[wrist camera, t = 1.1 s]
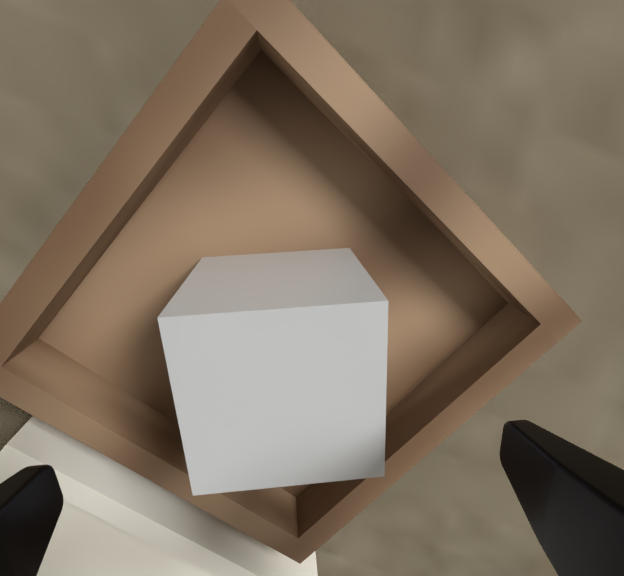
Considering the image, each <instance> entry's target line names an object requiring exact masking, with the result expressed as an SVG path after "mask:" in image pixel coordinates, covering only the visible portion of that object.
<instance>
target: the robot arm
mask: <svg viewBox="0 0 624 576" xmlns="http://www.w3.org/2000/svg"><path fill="white" fill-rule="evenodd" d="M500 460H501V463H502V466H503V468H504V470H505V473H506V475H507V477H508V479H509V481H510V483H511V485H512V487H513V489H514V491H515V493H516V496H517V498H518V500H519V502H520V504H521V506H522V508H523V510H524V512H525V514H526V517H527V519H528V521H529V523H530V525H531V527H532V529H533V531H534V533H535V535H536V537H537V539H538V541H539V543H540V545H541V546H542V548H543V550H544V552H545V553H546V555H547V557H548V559H549V560H550V562H551V564H552V565H553V567H554V569H555V570H556V572H557V574H558V575H559V576H624V470H623V469H621V468H619V467H617V466H615V465H613V464H611V463H609V462H607V461H605V460H603V459H601V458H599V457H597V456H595V455H594V454H592V453H590V452H588V451H586V450H584V449H582V448H580V447H578V446H576V445H574V444H572V443H570V442H568V441H566V440H565V439H563V438H561V437H559V436H557V435H555V434H553V433H551V432H549V431H547V430H545V429H543V428H541V427H539V426H537V425H536V424H534V423H532V422H530V421H527V420H516V421H508V422H506V423H505V425H504V428H503V434H502V441H501V447H500ZM63 501H64V500H63V494H62V491H61V488H60V485H59V482H58V479H57V476H56V474H55V471H54V469H53V467H52V466H50V465H47V464H45V465H34V466H28V467H25V468H23V469H21V470H20V471H18V472H17V473H15V474H14V475H12V476H11V477H9V478H8V479H6V480H5V481H3V482H2V483H0V576H37V574H38V571H39V568H40V566H41V563H42V561H43V558H44V555H45V553H46V550H47V548H48V545H49V542H50V540H51V537H52V535H53V532H54V529H55V527H56V524H57V522H58V519H59V516H60V514H61V511H62V508H63Z"/></svg>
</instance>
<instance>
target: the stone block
mask: <svg viewBox="0 0 624 576" xmlns="http://www.w3.org/2000/svg"><path fill="white" fill-rule="evenodd" d="M157 319H158V324H159V329H160V334H161V339H162V344H163V349H164V354H165V359H166V364H167V369H168V374H169V379H170V384H171V389H172V394H173V399H174V404H175V409H176V414H177V419H178V424H179V429H180V434H181V439H182V444H183V449H184V454H185V459H186V464H187V469H188V474H189V479H190V484H191V489H192V494H193V496H195V495H205V494H215V493H225V492H235V491H245V490H255V489H265V488H275V487H285V486H294V485H304V484H314V483H324V482H334V481H344V480H354V479H364V478H374V477H384V476H385V432H386V387H387V343H388V299H387V298H386V297H385V295H384V294H383V293H382V291H381V290H380V289H379V287H378V286H377V285H376V283H375V282H374V280H373V279H372V278H371V276H370V275H369V274H368V272H367V271H366V270H365V268H364V267H363V265H362V264H361V263H360V261H359V260H358V259H357V257H356V256H355V255H354V253H353V252H352V251H351V249H350V248H340V249H325V250H309V251H294V252H278V253H263V254H247V255H232V256H216V257H202V258H201V260H200V261H199V262H198V264H197V265H196V266H195V268H194V269H193V270H192V272H191V273H190V274H189V276H188V277H187V278H186V280H185V281H184V283H183V284H182V285H181V287H180V288H179V289H178V291H177V292H176V293H175V295H174V296H173V297H172V299H171V300H170V301H169V303H168V304H167V305H166V307H165V308H164V309H163V311H162V312H161V313H160V315H159V316H158V317H157Z"/></svg>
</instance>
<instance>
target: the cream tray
mask: <svg viewBox="0 0 624 576" xmlns="http://www.w3.org/2000/svg"><path fill="white" fill-rule="evenodd" d="M45 464H47V465H50V466H52V467H53V469H54V471H55V474H56V476H57V479H58V482H59V485H60V488H61V491H62V494H63V500H64V501H63V508H62V511H61V514H60V516H59V519H58V522H57V524H56V527H55V529H54V532H53V535H52V537H51V540H50V542H49V545H48V548H47V550H46V553H45V555H44V558H43V561H42V563H41V566H40V568H39V571H38V574H37V576H317V564H316V553H315V552H313V553H312V554H311V555H310V556H309V557H308V558H306V559H305V560H304V561H303V562H302V563H301V564H299V563H298V562H296V561H294V560H292V559H290V558H289V557H287V556H285V555H283V554H281V553H280V552H278V551H276V550H274V549H272V548H271V547H269V546H267V545H265V544H263V543H262V542H260V541H258V540H256V539H254V538H253V537H251V536H249V535H247V534H245V533H244V532H242V531H240V530H238V529H236V528H235V527H233V526H231V525H229V524H227V523H226V522H224V521H222V520H220V519H218V518H217V517H215V516H213V515H211V514H209V513H208V512H206V511H204V510H202V509H200V508H199V507H197V506H195V505H193V504H191V503H190V502H188V501H186V500H184V499H182V498H181V497H179V496H177V495H175V494H173V493H172V492H170V491H168V490H166V489H164V488H163V487H161V486H159V485H157V484H155V483H154V482H152V481H150V480H148V479H146V478H145V477H143V476H141V475H139V474H137V473H136V472H134V471H132V470H130V469H128V468H127V467H125V466H123V465H121V464H119V463H118V462H116V461H114V460H112V459H110V458H109V457H107V456H105V455H103V454H101V453H100V452H98V451H96V450H94V449H92V448H91V447H89V446H87V445H85V444H83V443H82V442H80V441H78V440H76V439H74V438H73V437H71V436H69V435H67V434H65V433H64V432H62V431H60V430H58V429H56V428H55V427H53V426H51V425H49V424H47V423H46V422H44V421H42V420H40V419H38V418H36V417H35V416H32V417H31V418H30V419H29V420H28V422H27V423H26V424H25V425H24V426H23V427H22V428H21V429H20V430H19V431H18V432H17V433H16V434H15V435H14V436H13V438H12V439H11V440H10V441H9V442H8V443H7V444H6V445H5V446H4V448H3V449H2V450H1V451H0V483H2V482H3V481H5V480H6V479H8V478H9V477H11V476H12V475H14V474H15V473H17V472H18V471H20V470H21V469H23V468H25V467H28V466H34V465H45Z"/></svg>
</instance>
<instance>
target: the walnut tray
mask: <svg viewBox="0 0 624 576" xmlns="http://www.w3.org/2000/svg"><path fill="white" fill-rule="evenodd" d="M340 248H350V249H351V251H352V252H353V253H354V255H355V256H356V257H357V259H358V260H359V261H360V263H361V264H362V265H363V267H364V268H365V270H366V271H367V272H368V274H369V275H370V276H371V278H372V279H373V280H374V282H375V283H376V285H377V286H378V287H379V289H380V290H381V291H382V293H383V294H384V295H385V297H386V298H387V299H388V343H387V387H386V432H385V476H384V477H374V478H364V479H354V480H344V481H334V482H324V483H314V484H304V485H294V486H285V487H275V488H265V489H255V490H245V491H235V492H225V493H215V494H205V495H195V496H193V494H192V489H191V484H190V479H189V474H188V469H187V464H186V459H185V454H184V449H183V444H182V439H181V434H180V429H179V424H178V419H177V414H176V409H175V404H174V399H173V394H172V389H171V384H170V379H169V374H168V369H167V364H166V359H165V354H164V349H163V344H162V339H161V334H160V329H159V324H158V319H157V317H158V316H159V315H160V313H161V312H162V311H163V309H164V308H165V307H166V305H167V304H168V303H169V301H170V300H171V299H172V297H173V296H174V295H175V293H176V292H177V291H178V289H179V288H180V287H181V285H182V284H183V283H184V281H185V280H186V278H187V277H188V276H189V274H190V273H191V272H192V270H193V269H194V268H195V266H196V265H197V264H198V262H199V261H200V260H201V258H202V257H216V256H232V255H247V254H263V253H278V252H294V251H309V250H325V249H340ZM580 322H582V320H581V319H580V318H579V317H578V316H577V315H576V314H575V312H574V311H573V310H572V309H571V308H570V307H569V306H568V305H567V304H566V303H565V301H564V300H563V299H562V298H561V297H560V296H559V295H558V294H557V293H556V292H555V290H554V289H553V288H552V287H551V286H550V285H549V284H548V283H547V282H546V281H545V279H544V278H543V277H542V276H541V275H540V274H539V273H538V272H537V271H536V270H535V269H534V267H533V266H532V265H531V264H530V263H529V262H528V261H527V260H526V259H525V258H524V256H523V255H522V254H521V253H520V252H519V251H518V250H517V249H516V248H515V247H514V245H513V244H512V243H511V242H510V241H509V240H508V239H507V238H506V237H505V236H504V235H503V233H502V232H501V231H500V230H499V229H498V228H497V227H496V226H495V225H494V224H493V222H492V221H491V220H490V219H489V218H488V217H487V216H486V215H485V214H484V213H483V211H482V210H481V209H480V208H479V207H478V206H477V205H476V204H475V203H474V202H473V200H472V199H471V198H470V197H469V196H468V195H467V194H466V193H465V192H464V191H463V190H462V188H461V187H460V186H459V185H458V184H457V183H456V182H455V181H454V180H453V179H452V177H451V176H450V175H449V174H448V173H447V172H446V171H445V170H444V169H443V168H442V166H441V165H440V164H439V163H438V162H437V161H436V160H435V159H434V158H433V157H432V156H431V154H430V153H429V152H428V151H427V150H426V149H425V148H424V147H423V146H422V145H421V143H420V142H419V141H418V140H417V139H416V138H415V137H414V136H413V135H412V134H411V132H410V131H409V130H408V129H407V128H406V127H405V126H404V125H403V124H402V123H401V122H400V120H399V119H398V118H397V117H396V116H395V115H394V114H393V113H392V112H391V111H390V109H389V108H388V107H387V106H386V105H385V104H384V103H383V102H382V101H381V100H380V98H379V97H378V96H377V95H376V94H375V93H374V92H373V91H372V90H371V89H370V87H369V86H368V85H367V84H366V83H365V82H364V81H363V80H362V79H361V78H360V77H359V75H358V74H357V73H356V72H355V71H354V70H353V69H352V68H351V67H350V66H349V64H348V63H347V62H346V61H345V60H344V59H343V58H342V57H341V56H340V55H339V53H338V52H337V51H336V50H335V49H334V48H333V47H332V46H331V45H330V44H329V43H328V41H327V40H326V39H325V38H324V37H323V36H322V35H321V34H320V33H319V32H318V30H317V29H316V28H315V27H314V26H313V25H312V24H311V23H310V22H309V21H308V19H307V18H306V17H305V16H304V15H303V14H302V13H301V12H300V11H299V10H298V8H297V7H296V6H295V5H294V4H293V3H292V2H291V1H290V0H220V1H219V2H218V4H217V5H216V7H215V8H214V9H213V11H212V12H211V13H210V15H209V16H208V18H207V19H206V20H205V22H204V23H203V24H202V26H201V27H200V29H199V30H198V31H197V33H196V34H195V36H194V37H193V38H192V40H191V41H190V42H189V44H188V45H187V47H186V48H185V49H184V51H183V52H182V53H181V55H180V56H179V58H178V59H177V60H176V62H175V63H174V65H173V66H172V67H171V69H170V70H169V71H168V73H167V74H166V76H165V77H164V78H163V80H162V81H161V82H160V84H159V85H158V87H157V88H156V89H155V91H154V92H153V94H152V95H151V96H150V98H149V99H148V100H147V102H146V103H145V105H144V106H143V107H142V109H141V110H140V111H139V113H138V114H137V116H136V117H135V118H134V120H133V121H132V123H131V124H130V125H129V127H128V128H127V129H126V131H125V132H124V134H123V135H122V136H121V138H120V139H119V140H118V142H117V143H116V145H115V146H114V147H113V149H112V150H111V152H110V153H109V154H108V156H107V157H106V158H105V160H104V161H103V163H102V164H101V165H100V167H99V168H98V169H97V171H96V172H95V174H94V175H93V176H92V178H91V179H90V181H89V182H88V183H87V185H86V186H85V187H84V189H83V190H82V192H81V193H80V194H79V196H78V197H77V198H76V200H75V201H74V203H73V204H72V205H71V207H70V208H69V210H68V211H67V212H66V214H65V215H64V216H63V218H62V219H61V221H60V222H59V223H58V225H57V226H56V227H55V229H54V230H53V232H52V233H51V234H50V236H49V237H48V239H47V240H46V241H45V243H44V244H43V245H42V247H41V248H40V250H39V251H38V252H37V254H36V255H35V256H34V258H33V259H32V261H31V262H30V263H29V265H28V266H27V268H26V269H25V270H24V272H23V273H22V274H21V276H20V277H19V279H18V280H17V281H16V283H15V284H14V285H13V287H12V288H11V290H10V291H9V292H8V294H7V295H6V297H5V298H4V299H3V301H2V302H1V303H0V398H2V399H4V400H6V401H8V402H9V403H11V404H13V405H15V406H17V407H18V408H20V409H22V410H24V411H26V412H27V413H29V414H31V415H33V416H35V417H36V418H38V419H40V420H42V421H44V422H46V423H47V424H49V425H51V426H53V427H55V428H56V429H58V430H60V431H62V432H64V433H65V434H67V435H69V436H71V437H73V438H74V439H76V440H78V441H80V442H82V443H83V444H85V445H87V446H89V447H91V448H92V449H94V450H96V451H98V452H100V453H101V454H103V455H105V456H107V457H109V458H110V459H112V460H114V461H116V462H118V463H119V464H121V465H123V466H125V467H127V468H128V469H130V470H132V471H134V472H136V473H137V474H139V475H141V476H143V477H145V478H146V479H148V480H150V481H152V482H154V483H155V484H157V485H159V486H161V487H163V488H164V489H166V490H168V491H170V492H172V493H173V494H175V495H177V496H179V497H181V498H182V499H184V500H186V501H188V502H190V503H191V504H193V505H195V506H197V507H199V508H200V509H202V510H204V511H206V512H208V513H209V514H211V515H213V516H215V517H217V518H218V519H220V520H222V521H224V522H226V523H227V524H229V525H231V526H233V527H235V528H236V529H238V530H240V531H242V532H244V533H245V534H247V535H249V536H251V537H253V538H254V539H256V540H258V541H260V542H262V543H263V544H265V545H267V546H269V547H271V548H272V549H274V550H276V551H278V552H280V553H281V554H283V555H285V556H287V557H289V558H290V559H292V560H294V561H296V562H298V563H299V564H301V563H302V562H303V561H304V560H305V559H306V558H308V557H309V556H310V555H311V554H312V553H313V552H315V551H316V550H317V549H318V548H319V547H320V546H322V545H323V544H324V543H325V542H326V541H327V540H329V539H330V538H331V537H332V536H333V535H334V534H335V533H337V532H338V531H339V530H340V529H341V528H342V527H344V526H345V525H346V524H347V523H348V522H349V521H351V520H352V519H353V518H354V517H355V516H356V515H358V514H359V513H360V512H361V511H362V510H363V509H365V508H366V507H367V506H368V505H369V504H370V503H371V502H373V501H374V500H375V499H376V498H377V497H378V496H380V495H381V494H382V493H383V492H384V491H385V490H387V489H388V488H389V487H390V486H391V485H392V484H394V483H395V482H396V481H397V480H398V479H399V478H400V477H402V476H403V475H404V474H405V473H406V472H407V471H409V470H410V469H411V468H412V467H413V466H414V465H416V464H417V463H418V462H419V461H420V460H421V459H423V458H424V457H425V456H426V455H427V454H428V453H429V452H431V451H432V450H433V449H434V448H435V447H436V446H438V445H439V444H440V443H441V442H442V441H443V440H445V439H446V438H447V437H448V436H449V435H450V434H452V433H453V432H454V431H455V430H456V429H457V428H459V427H460V426H461V425H462V424H463V423H464V422H465V421H467V420H468V419H469V418H470V417H471V416H472V415H474V414H475V413H476V412H477V411H478V410H479V409H481V408H482V407H483V406H484V405H485V404H486V403H488V402H489V401H490V400H491V399H492V398H493V397H494V396H496V395H497V394H498V393H499V392H500V391H501V390H503V389H504V388H505V387H506V386H507V385H508V384H510V383H511V382H512V381H513V380H514V379H515V378H517V377H518V376H519V375H520V374H521V373H522V372H523V371H525V370H526V369H527V368H528V367H529V366H530V365H532V364H533V363H534V362H535V361H536V360H537V359H539V358H540V357H541V356H542V355H543V354H544V353H546V352H547V351H548V350H549V349H550V348H551V347H553V346H554V345H555V344H556V343H557V342H558V341H559V340H561V339H562V338H563V337H564V336H565V335H566V334H568V333H569V332H570V331H571V330H572V329H573V328H575V327H576V326H577V325H578V324H579V323H580Z"/></svg>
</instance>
